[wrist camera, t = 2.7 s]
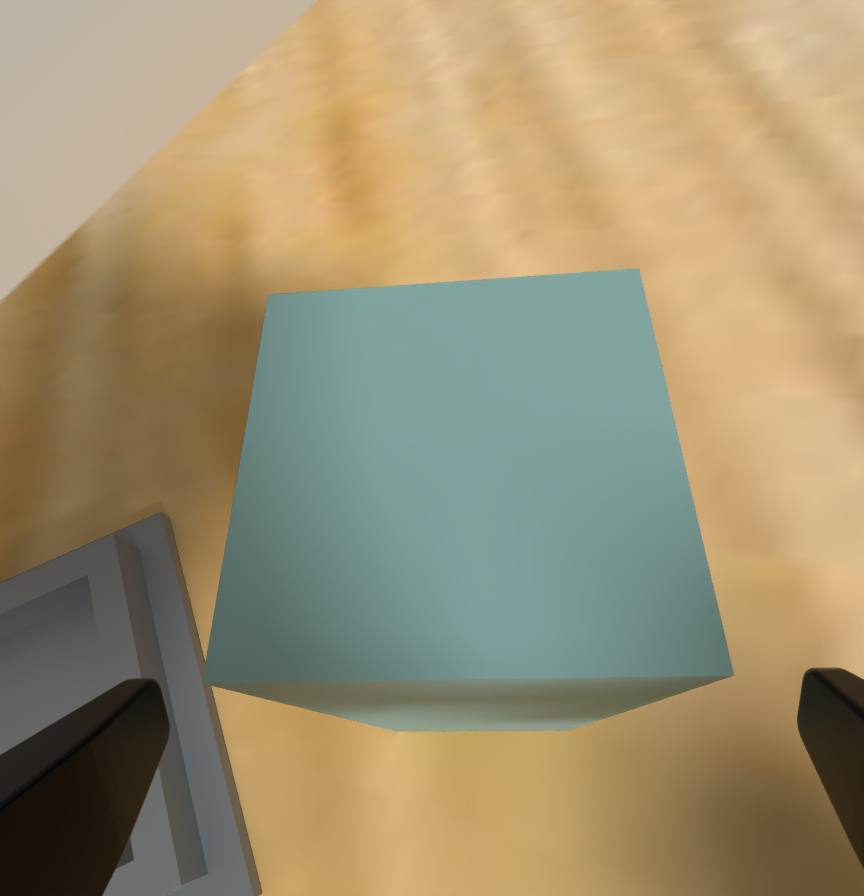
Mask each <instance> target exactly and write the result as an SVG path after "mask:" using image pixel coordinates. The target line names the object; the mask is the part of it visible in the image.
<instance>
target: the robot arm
mask: <svg viewBox="0 0 864 896" xmlns="http://www.w3.org/2000/svg"><path fill="white" fill-rule="evenodd" d="M797 724H798V730H799V733H800V736H801V739H802V741H803V743H804V745H805V747H806V750H807V752H808V754H809V756H810V758H811V760H812V762H813V764H814V767H815V769H816V771H817V773H818V775H819V777H820V779H821V782H822V784H823V786H824V788H825V790H826V792H827V794H828V797H829V799H830V801H831V803H832V805H833V807H834V809H835V812H836V814H837V816H838V818H839V820H840V822H841V824H842V826H843V829H844V831H845V833H846V835H847V837H848V839H849V841H850V843H851V845H852V847H853V849H854V851H855V853H856V855H857V857H858V859H859V861H860V863H861V865H862V866H863V868H864V680H863V679H862V678H860V677H858V676H856V675H854V674H852V673H850V672H848V671H846V670H844V669H841V668H810V669H808V670H807V671H806V672H805V674H804V676H803V681H802V688H801V694H800V701H799V708H798V715H797ZM169 734H170V722H169V718H168V714H167V710H166V706H165V702H164V698H163V694H162V690H161V687H160V684H159V683H158V681H157V680H155V679H152V678H136V679H127V680H125V681H123V682H121V683H119V684H118V685H116V686H114V687H113V688H111V689H109V690H108V691H106V692H104V693H103V694H101V695H99V696H98V697H96V698H94V699H93V700H91V701H89V702H88V703H86V704H84V705H83V706H81V707H79V708H78V709H76V710H74V711H73V712H71V713H69V714H68V715H66V716H64V717H63V718H61V719H59V720H58V721H56V722H54V723H52V724H51V725H49V726H47V727H46V728H44V729H42V730H41V731H39V732H37V733H36V734H34V735H32V736H31V737H29V738H27V739H26V740H24V741H22V742H21V743H19V744H17V745H16V746H14V747H12V748H11V749H9V750H7V751H6V752H4V753H2V754H1V755H0V896H103V894H104V892H105V890H106V888H107V886H108V884H109V882H110V880H111V878H112V876H113V874H114V872H115V870H116V868H117V865H118V863H119V861H120V859H121V857H122V855H123V853H124V851H125V848H126V846H127V844H128V841H129V839H130V837H131V834H132V832H133V829H134V827H135V824H136V822H137V819H138V816H139V814H140V811H141V809H142V806H143V804H144V801H145V799H146V796H147V794H148V791H149V788H150V786H151V783H152V781H153V778H154V776H155V773H156V771H157V768H158V766H159V763H160V761H161V758H162V755H163V753H164V750H165V748H166V745H167V742H168V739H169Z"/></svg>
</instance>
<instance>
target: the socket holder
mask: <svg viewBox="0 0 864 896" xmlns="http://www.w3.org/2000/svg"><path fill="white" fill-rule="evenodd" d="M204 669H205V661H204V657H203V653H202V649H201V645H200V640H199V636H198V632H197V628H196V624H195V620H194V616H193V612H192V608H191V604H190V600H189V596H188V592H187V588H186V584H185V580H184V576H183V572H182V568H181V564H180V560H179V556H178V552H177V548H176V544H175V540H174V536H173V532H172V528H171V524H170V520H169V518H168V517H167V516H166V515H164V514H163V513H162V512H160V513H157V514H155V515H153V516H150V517H148V518H146V519H144V520H141V521H139V522H137V523H135V524H132V525H130V526H128V527H126V528H123V529H121V530H119V531H116V532H114V533H112V534H110V535H107V536H105V537H103V538H101V539H98V540H96V541H94V542H92V543H89V544H87V545H85V546H82V547H80V548H78V549H76V550H73V551H71V552H69V553H67V554H64V555H62V556H60V557H57V558H55V559H53V560H51V561H48V562H46V563H44V564H42V565H39V566H37V567H35V568H33V569H30V570H28V571H26V572H23V573H21V574H19V575H17V576H14V577H12V578H10V579H8V580H5V581H3V582H1V583H0V755H1V754H2V753H4V752H6V751H7V750H9V749H11V748H12V747H14V746H16V745H17V744H19V743H21V742H22V741H24V740H26V739H27V738H29V737H31V736H32V735H34V734H36V733H37V732H39V731H41V730H42V729H44V728H46V727H47V726H49V725H51V724H52V723H54V722H56V721H58V720H59V719H61V718H63V717H64V716H66V715H68V714H69V713H71V712H73V711H74V710H76V709H78V708H79V707H81V706H83V705H84V704H86V703H88V702H89V701H91V700H93V699H94V698H96V697H98V696H99V695H101V694H103V693H104V692H106V691H108V690H109V689H111V688H113V687H114V686H116V685H118V684H119V683H121V682H123V681H125V680H127V679H136V678H152V679H155V680H157V681H158V683H159V684H160V687H161V690H162V694H163V698H164V702H165V706H166V710H167V714H168V718H169V722H170V734H169V739H168V742H167V745H166V748H165V750H164V753H163V755H162V758H161V761H160V763H159V766H158V768H157V771H156V773H155V776H154V778H153V781H152V783H151V786H150V788H149V791H148V794H147V796H146V799H145V801H144V804H143V806H142V809H141V811H140V814H139V816H138V819H137V822H136V824H135V827H134V829H133V832H132V834H131V837H130V839H129V841H128V844H127V846H126V848H125V851H124V853H123V855H122V857H121V859H120V861H119V863H118V865H117V868H116V870H115V872H114V874H113V876H112V878H111V880H110V882H109V884H108V886H107V888H106V890H105V892H104V894H103V896H258V895H260V894H262V890H261V886H260V882H259V878H258V874H257V870H256V866H255V862H254V858H253V854H252V850H251V846H250V842H249V838H248V834H247V830H246V826H245V822H244V818H243V814H242V810H241V806H240V802H239V798H238V794H237V790H236V786H235V782H234V778H233V774H232V769H231V765H230V761H229V757H228V753H227V749H226V745H225V741H224V737H223V733H222V729H221V725H220V721H219V717H218V713H217V709H216V705H215V701H214V697H213V693H212V689H211V685H207V684H203V683H202V681H203V675H204Z"/></svg>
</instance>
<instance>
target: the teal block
mask: <svg viewBox="0 0 864 896" xmlns="http://www.w3.org/2000/svg"><path fill="white" fill-rule="evenodd" d="M731 676H734V673H733V669H732V665H731V660H730V656H729V652H728V647H727V643H726V639H725V635H724V630H723V626H722V622H721V617H720V613H719V609H718V605H717V600H716V596H715V592H714V587H713V583H712V579H711V575H710V570H709V566H708V562H707V557H706V553H705V549H704V545H703V540H702V536H701V532H700V527H699V523H698V519H697V515H696V510H695V506H694V502H693V497H692V493H691V489H690V485H689V480H688V476H687V472H686V467H685V463H684V459H683V455H682V450H681V446H680V442H679V437H678V433H677V429H676V425H675V420H674V416H673V412H672V407H671V403H670V399H669V395H668V390H667V386H666V382H665V377H664V373H663V369H662V365H661V360H660V356H659V352H658V347H657V343H656V339H655V335H654V330H653V326H652V322H651V317H650V313H649V309H648V305H647V300H646V296H645V292H644V287H643V283H642V279H641V275H640V270H639V269H625V270H611V271H597V272H582V273H568V274H554V275H540V276H526V277H512V278H498V279H483V280H469V281H455V282H441V283H427V284H413V285H399V286H385V287H370V288H356V289H342V290H328V291H314V292H300V293H286V294H271V295H268V300H267V306H266V312H265V317H264V323H263V329H262V335H261V341H260V347H259V353H258V358H257V364H256V370H255V376H254V382H253V388H252V394H251V399H250V405H249V411H248V417H247V423H246V429H245V435H244V440H243V446H242V452H241V458H240V464H239V470H238V476H237V481H236V487H235V493H234V499H233V505H232V511H231V517H230V523H229V528H228V534H227V540H226V546H225V552H224V558H223V564H222V569H221V575H220V581H219V587H218V593H217V599H216V605H215V610H214V616H213V622H212V628H211V634H210V640H209V646H208V651H207V657H206V663H205V669H204V675H203V681H202V683H203V684H207V685H211V686H215V687H219V688H223V689H227V690H231V691H235V692H239V693H243V694H247V695H252V696H256V697H260V698H264V699H268V700H272V701H276V702H280V703H284V704H288V705H292V706H296V707H300V708H304V709H308V710H312V711H316V712H320V713H324V714H329V715H333V716H337V717H341V718H345V719H349V720H353V721H357V722H361V723H365V724H369V725H373V726H377V727H381V728H385V729H389V730H393V731H527V730H571V729H574V728H577V727H580V726H583V725H586V724H589V723H592V722H595V721H598V720H601V719H604V718H607V717H610V716H613V715H616V714H619V713H622V712H625V711H628V710H631V709H634V708H637V707H640V706H643V705H646V704H649V703H653V702H656V701H659V700H662V699H665V698H668V697H671V696H674V695H677V694H680V693H683V692H686V691H689V690H692V689H695V688H698V687H701V686H704V685H707V684H710V683H713V682H716V681H719V680H722V679H725V678H728V677H731Z"/></svg>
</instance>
